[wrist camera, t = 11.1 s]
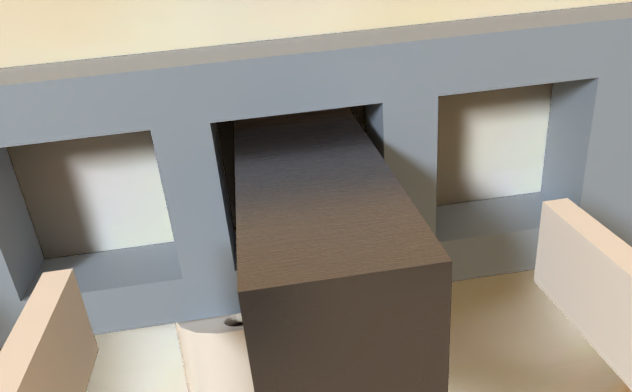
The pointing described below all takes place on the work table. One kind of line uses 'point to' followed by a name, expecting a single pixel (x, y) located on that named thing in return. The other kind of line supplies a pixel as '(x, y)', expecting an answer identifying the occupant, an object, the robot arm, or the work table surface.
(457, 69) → the three-slot holder block
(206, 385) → the spotlight
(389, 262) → the square peg
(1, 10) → the work table surface
